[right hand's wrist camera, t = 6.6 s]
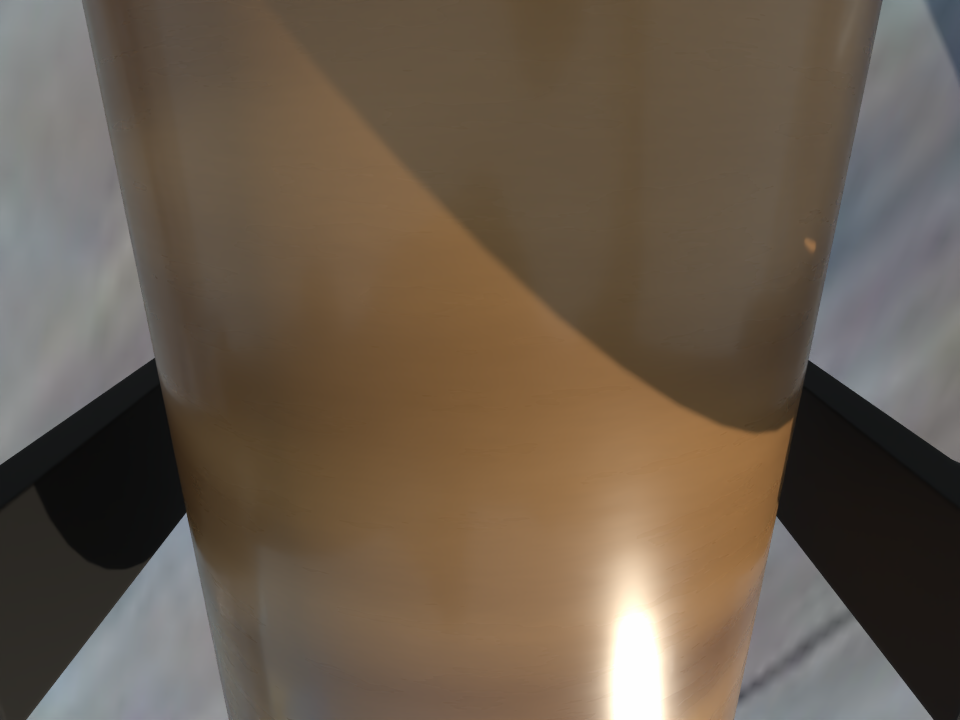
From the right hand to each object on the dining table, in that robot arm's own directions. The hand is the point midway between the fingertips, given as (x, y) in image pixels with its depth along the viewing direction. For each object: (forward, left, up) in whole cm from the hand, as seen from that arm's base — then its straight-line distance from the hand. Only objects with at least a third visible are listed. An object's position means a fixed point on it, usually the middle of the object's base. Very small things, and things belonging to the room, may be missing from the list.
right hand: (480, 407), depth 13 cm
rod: (-3, +10, -1) cm, 11 cm away
